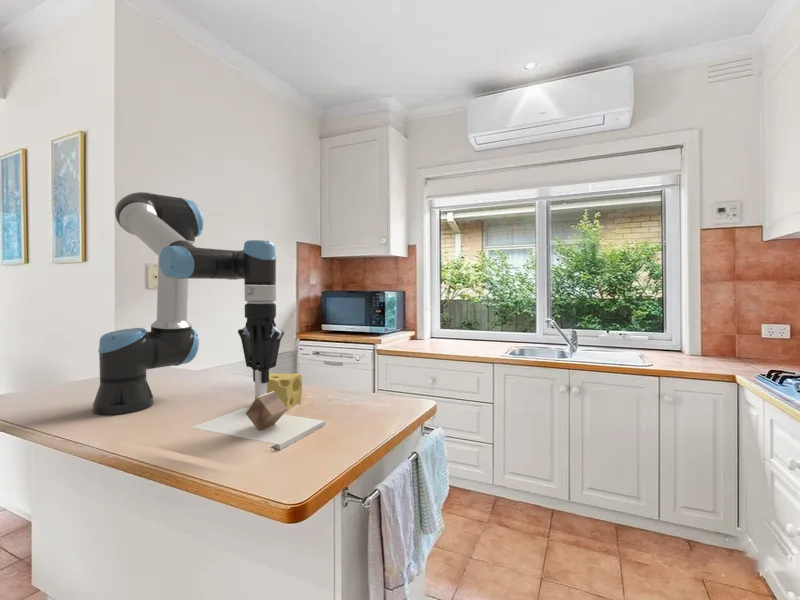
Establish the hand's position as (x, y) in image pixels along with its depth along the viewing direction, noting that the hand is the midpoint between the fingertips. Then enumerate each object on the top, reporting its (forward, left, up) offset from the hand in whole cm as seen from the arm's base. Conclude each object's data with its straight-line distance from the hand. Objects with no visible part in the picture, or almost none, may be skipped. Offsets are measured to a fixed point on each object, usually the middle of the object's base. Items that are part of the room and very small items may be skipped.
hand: (261, 395), depth 105 cm
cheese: (-9, +17, -9) cm, 21 cm away
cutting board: (-2, +1, -9) cm, 9 cm away
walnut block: (-1, 0, -2) cm, 2 cm away
